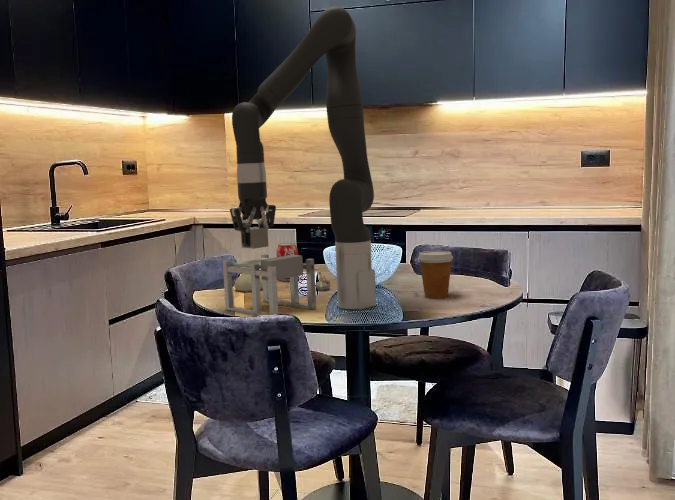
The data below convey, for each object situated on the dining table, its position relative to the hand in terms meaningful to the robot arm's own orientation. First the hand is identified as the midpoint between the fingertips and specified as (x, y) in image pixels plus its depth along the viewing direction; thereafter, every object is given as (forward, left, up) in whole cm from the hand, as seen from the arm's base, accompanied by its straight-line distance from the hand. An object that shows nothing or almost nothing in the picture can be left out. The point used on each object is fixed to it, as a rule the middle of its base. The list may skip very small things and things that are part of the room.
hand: (255, 245), depth 179 cm
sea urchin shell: (+22, -15, -17) cm, 32 cm away
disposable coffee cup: (-31, -37, -17) cm, 51 cm away
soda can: (+25, -33, -17) cm, 44 cm away
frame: (-5, 0, -17) cm, 17 cm away
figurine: (+3, -27, -17) cm, 32 cm away
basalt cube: (0, 0, 0) cm, 1 cm away
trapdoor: (-5, 0, -8) cm, 9 cm away
